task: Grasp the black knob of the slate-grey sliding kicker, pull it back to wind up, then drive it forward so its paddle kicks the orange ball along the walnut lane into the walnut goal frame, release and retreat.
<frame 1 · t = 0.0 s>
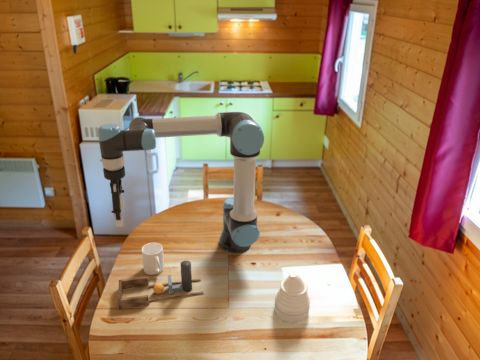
hand: (120, 217, 153), 28 cm above the table, fingers open, 13 cm apart
ball: (158, 288, 155), point 2 cm above the table
kicker: (179, 277, 155), point 6 cm above the table, slide at 2.0 cm
goal: (134, 296, 154), on the table
mug: (155, 271, 168), on the table
lane: (174, 290, 157), on the table
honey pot: (291, 310, 149), on the table
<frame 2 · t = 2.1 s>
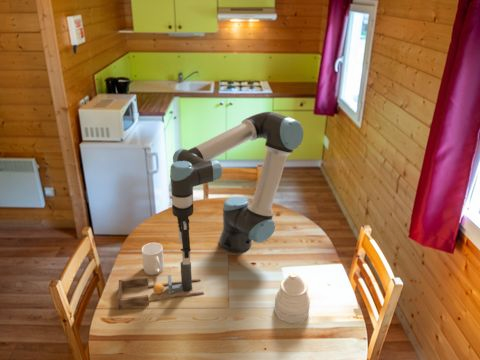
hand: (184, 252, 151), 18 cm above the table, fingers open, 13 cm apart
nothing on the table moved.
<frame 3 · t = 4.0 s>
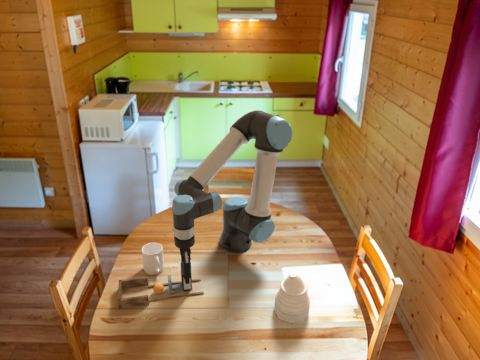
hand: (186, 284, 157), 2 cm above the table, fingers closed on kicker, 4 cm apart
kicker: (179, 277, 155), point 6 cm above the table, slide at 2.0 cm, touching gripper
everything else where it was.
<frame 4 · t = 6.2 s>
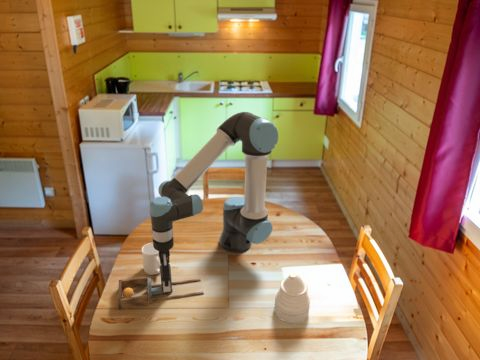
hand: (166, 287, 156), 2 cm above the table, fingers closed on kicker, 4 cm apart
ball: (128, 292, 153), point 2 cm above the table, tilted 39°
kicker: (159, 279, 153), point 6 cm above the table, slide at 9.9 cm, touching gripper
everything else where it was.
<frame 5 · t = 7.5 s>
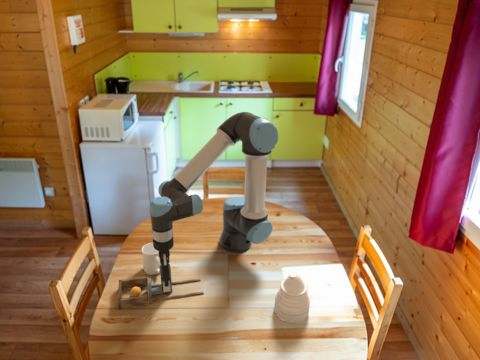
hand: (166, 287, 156), 2 cm above the table, fingers closed on kicker, 4 cm apart
ball: (135, 291, 153), point 2 cm above the table, tilted 121°
kicker: (159, 279, 153), point 6 cm above the table, slide at 9.9 cm, touching gripper
everything else where it was.
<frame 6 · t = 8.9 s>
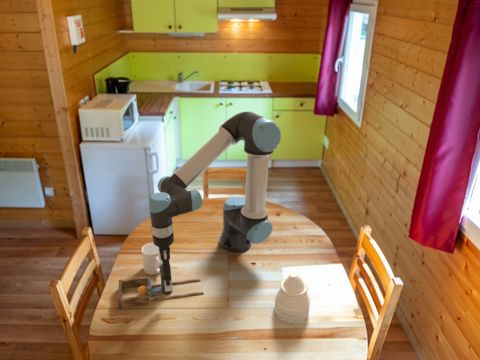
hand: (167, 278, 154), 6 cm above the table, fingers open, 13 cm apart
ball: (143, 290, 154), point 2 cm above the table, tilted 160°
kicker: (159, 279, 153), point 6 cm above the table, slide at 9.9 cm
everything else where it was.
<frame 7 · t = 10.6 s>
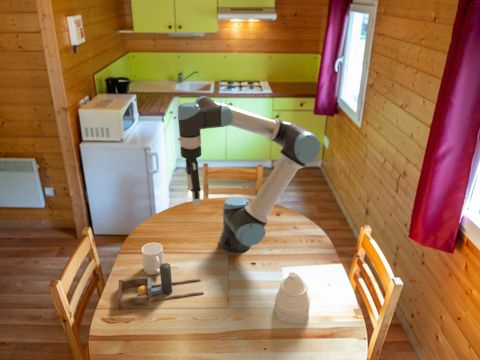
hand: (193, 196, 154), 35 cm above the table, fingers open, 13 cm apart
nothing on the table moved.
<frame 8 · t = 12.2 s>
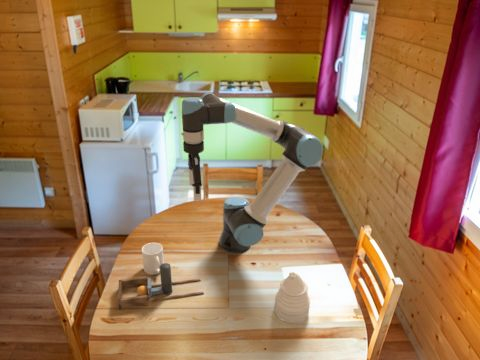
hand: (195, 192, 154), 37 cm above the table, fingers open, 13 cm apart
nothing on the table moved.
at the end: ball inside the target area (3.5 cm from its centre), point 2.0 cm above the table; kicker slide at 9.9 cm; the gripper is holding nothing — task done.
